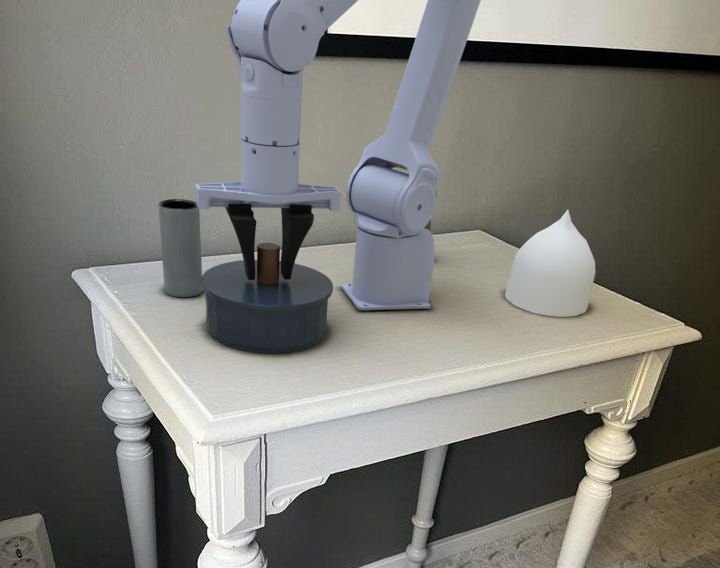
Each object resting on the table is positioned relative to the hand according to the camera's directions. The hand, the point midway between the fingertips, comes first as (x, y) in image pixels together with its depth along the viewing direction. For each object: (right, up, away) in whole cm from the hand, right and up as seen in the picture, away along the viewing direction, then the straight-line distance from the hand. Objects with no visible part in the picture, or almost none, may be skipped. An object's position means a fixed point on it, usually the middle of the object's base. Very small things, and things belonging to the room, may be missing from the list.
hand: (268, 276), depth 79 cm
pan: (-1, -5, +3) cm, 6 cm away
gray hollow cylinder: (-12, +1, +10) cm, 16 cm away
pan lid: (0, -1, +1) cm, 1 cm away
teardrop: (+35, +2, +19) cm, 40 cm away
